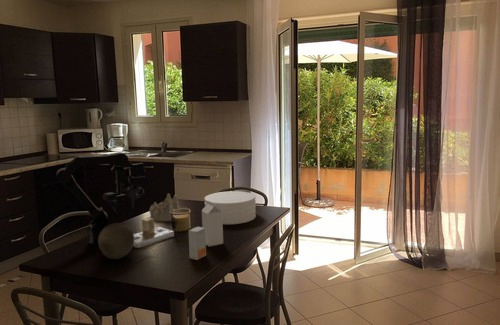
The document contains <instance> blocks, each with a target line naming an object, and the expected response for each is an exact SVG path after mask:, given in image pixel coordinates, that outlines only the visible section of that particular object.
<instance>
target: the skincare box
mask: <svg viewBox="0 0 500 325" xmlns="http://www.w3.org/2000/svg"><path fill="white" fill-rule="evenodd" d="M188 247H189V248H188V249H189V250H188V253H189V259H190V260H195V261H198V260H200V259H202V258H204V257H206V256H207V245H206V238H205V228H202V226H195V227H193V228H192V229H189V230H188Z"/></svg>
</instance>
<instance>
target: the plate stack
mask: <svg viewBox="0 0 500 325" xmlns="http://www.w3.org/2000/svg"><path fill="white" fill-rule="evenodd" d="M208 201H210V202H212V203H214V204H216V205H217V206H219V207H218V209H219V210H220V211H222V223H223V225H237V224H238V225H239V224H243V223H244V224H245V223H249V222H250V221H253V220H254V219H255V218H257V210H256V208H257V206H256V195H255V194H254V193H252V192H248V191H236V190H235V191H232V190H231V191H220V192H215V193H210V194H208V195H206V196H204V207H205V206H206V205H207V204H208Z"/></svg>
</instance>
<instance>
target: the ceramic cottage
mask: <svg viewBox="0 0 500 325" xmlns="http://www.w3.org/2000/svg"><path fill="white" fill-rule="evenodd" d="M178 208H180V209H181V204H180V203H179V199H178V195H177V194H174V195H173V198H172V197H171V194H170V193H167V195H166V198H164V200H163V201H161V202H159V203H157V202H153V204H151V205H150V207H149V209H148V212H149V214H150V218H153V219H154V222H170V221H172V220H171V215H170V211H172V210H173V209H178Z"/></svg>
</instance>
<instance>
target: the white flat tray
mask: <svg viewBox="0 0 500 325" xmlns="http://www.w3.org/2000/svg"><path fill="white" fill-rule="evenodd" d="M154 228H155V235H153V236H150V237H145V236H143V231H140V232H137V233H133V235H134V244H133V247H134V248H137V249H140V248H144V247H146V246H149V245H152V244H153V245H154V244H155V243H158V242H162V241H163V240H168V239H170V238H173V237H175V230H171V229H168V228H164V227H161V226H157V227H154ZM133 247H132V248H133Z"/></svg>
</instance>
